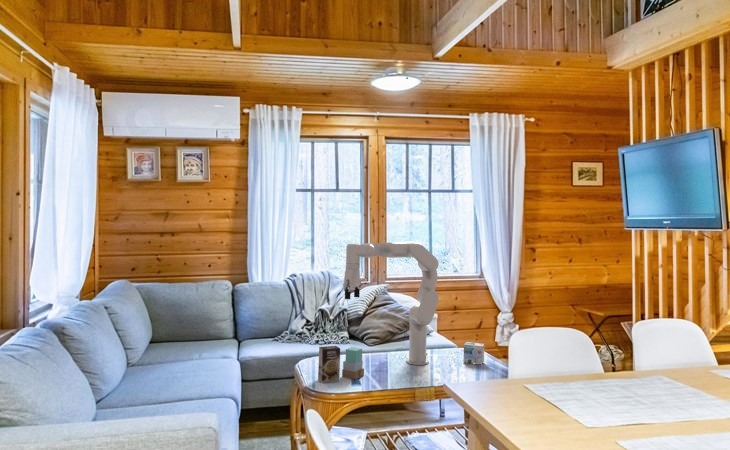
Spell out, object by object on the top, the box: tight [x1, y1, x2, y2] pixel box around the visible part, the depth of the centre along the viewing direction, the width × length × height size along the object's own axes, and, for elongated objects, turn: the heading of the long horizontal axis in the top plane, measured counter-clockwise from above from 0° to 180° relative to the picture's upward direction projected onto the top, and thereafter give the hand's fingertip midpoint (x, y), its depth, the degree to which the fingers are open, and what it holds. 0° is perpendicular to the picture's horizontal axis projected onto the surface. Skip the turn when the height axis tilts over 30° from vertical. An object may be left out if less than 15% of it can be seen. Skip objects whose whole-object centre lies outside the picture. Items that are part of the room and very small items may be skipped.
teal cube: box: [345, 346, 363, 363], centre depth 245 cm, size 6×6×6 cm
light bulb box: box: [462, 341, 485, 365], centre depth 275 cm, size 11×7×11 cm, turn 68°
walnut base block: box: [341, 367, 365, 381], centre depth 244 cm, size 8×8×4 cm
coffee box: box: [317, 345, 341, 384], centre depth 237 cm, size 9×6×16 cm
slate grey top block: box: [342, 360, 363, 372], centre depth 244 cm, size 7×7×4 cm
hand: (352, 298), depth 265 cm, fingers open, 9 cm apart
